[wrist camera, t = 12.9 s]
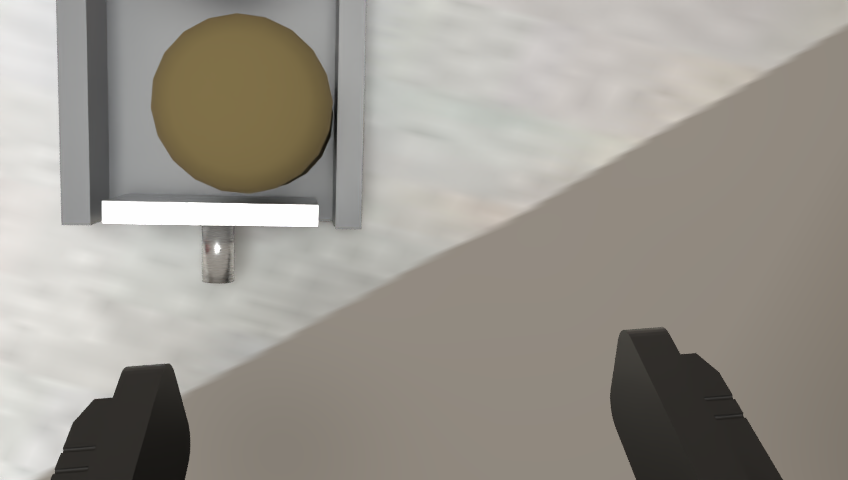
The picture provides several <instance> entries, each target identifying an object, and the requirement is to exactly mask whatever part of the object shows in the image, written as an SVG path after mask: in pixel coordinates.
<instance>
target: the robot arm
mask: <svg viewBox="0 0 848 480" xmlns="http://www.w3.org/2000/svg"><path fill="white" fill-rule="evenodd" d="M610 401H611V411H612V416H613V420H614V424H615V427H616V429H617V432H618V434H619V437H620V440H621V442H622V444H623V447H624V450H625V452H626V455H627V457H628V460H629V462H630V465H631V467H632V470H633V473H634V475H635V478H636V480H783V479H782V478H781V476H780V474H779V473H778V471H777V469H776V468H775V466H774V464H773V463H772V461H771V459H770V457H769V456H768V454H767V452H766V451H765V449H764V447H763V446H762V444H761V442H760V441H759V439H758V437H757V436H756V434H755V432H754V431H753V429H752V427H751V425H750V424H749V422H748V420H747V419H746V418H744V417H743V412H742V411H741V409H740V407H739V405H738V403H737V402H736V400H735V399H733V398H732V393H731V392H730V390H729V389H728V387H727V385H726V383H725V382H724V380H723V378H722V377H721V375H720V373H719V372H718V371H717V370H716V369H714V368H713V367H712V366H711V365H709V364H708V363H707V362H706V361H705V360H703V359H702V358H701V357H700V356H699V355H697V354H696V353H693V354H680V353H679V351H678V349H677V347H676V345H675V344H674V342H673V340H672V338H671V336H670V335H669V333H668V331H667V330H666V329H665V328H663V327H658V328H645V329H632V330H623V331H621V333H620V335H619V339H618V345H617V352H616V358H615V365H614V372H613V378H612V385H611V393H610ZM189 455H190V431H189V425H188V421H187V418H186V413H185V410H184V406H183V402H182V399H181V395H180V391H179V388H178V384H177V380H176V376H175V373H174V370H173V368H172V366H171V365H170V364H156V365H143V366H130V367H125V368H124V369H123V371H122V373H121V376H120V379H119V381H118V384H117V387H116V390H115V393H114V396H113V398H103V399H94V400H93V401H92V402H91V403H90V405H89V406H88V407H87V408H86V409H85V410H84V411H83V412H82V413H81V415H80V416H79V417H78V418H77V419H76V420H75V421H74V422H73V424H72V427H71V429H70V432H69V434H68V437H67V440H66V442H65V445H64V447H63V453H61V455H60V457H59V460H58V462H57V465H56V467H55V474H53V475H52V477H51V480H185V476H186V471H187V467H188V462H189Z"/></svg>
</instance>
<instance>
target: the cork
mask: <svg viewBox="0 0 848 480" xmlns="http://www.w3.org/2000/svg"><path fill="white" fill-rule="evenodd" d="M332 105H333V100H332V96H331V91H330V86H329V81H328V77H327V74H326V72H325V70H324V68H323V67H322V65H321V63H320V61H319V59H318V58H317V56H316V54H315V52H314V51H313V49H312V48H311V47H310V46H309V45H307V44H306V43H305V42H304V41H303V40H302V39H301V38H300V37H299V36H298V35H297V34H296V33H295V32H294V31H293V30H291V29H289V28H287V27H285V26H283V25H281V24H279V23H277V22H275V21H272V20H270V19H268V18H266V17H260V16H253V15H247V14H240V13H235V14H229V15H224V16H218V17H212V18H208V19H206V20H204V21H202V22H201V23H199V24H197V25H195V26H193V27H191V28H190V29H188V30H186V31H184V32H183V33H182V34H181V35H180V36H179V37H178V38H177V39H176V40H175V42H174V43H173V44H172V45H171V46H170V47H169V48H168V49H167V50H166V51H165V53H164V54H163V57H162V59H161V61H160V64H159V66H158V68H157V71H156V73H155V75H154V78H153V84H152V97H151V111H152V115H153V119H154V123H155V127H156V131H157V135H158V137H159V139H160V140H161V142H162V144H163V145H164V147H165V148H166V150H167V152H168V153H169V155H170V157H171V158H172V160H173V161H174V162H175V163H176V164H178V165H179V166H180V167H181V168H182V169H183V170H185V171H186V172H187V173H188V174H189V175H190V176H192V177H193V178H194V179H195V180H197V181H200V182H202V183H204V184H207V185H209V186H211V187H214V188H216V189H218V190H221V191H228V192H238V193H247V194H251V193H256V192H260V191H265V190H270V189H275V188H278V187H280V186H283V185H287V184H289V183H291V182H293V181H294V180H296V179H298V178H300V177H301V176H303V175H305V174H307V173H308V171H309V170H310V169H311V168H312V167H313V166H314V165H315V164H316V163H317V161H318V160H319V159H320V158H321V157H322V155H323V153H324V151H325V148H326V146H327V144H328V142H329V139H330V137H331V130H332V120H333V111H332Z"/></svg>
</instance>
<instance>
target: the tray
mask: <svg viewBox="0 0 848 480" xmlns="http://www.w3.org/2000/svg"><path fill="white" fill-rule="evenodd" d="M235 13H240V14H247V15H253V16H260V17H266V18H268V19H270V20H272V21H275V22H277V23H279V24H281V25H283V26H285V27H287V28H289V29H291V30H293V31H294V32H295V33H296V34H297V35H298V36H299V37H300V38H301V39H302V40H303V41H304V42H305V43H306V44H307V45H309V46H310V47H311V48H312V49H313V51H314V52H315V54H316V56H317V58H318V59H319V61H320V63H321V65H322V67H323V68H324V70H325V72H326V74H327V77H328V81H329V86H330V91H331V96H332V100H333V105H332V111H333V120H332V130H331V137H330V139H329V142H328V144H327V146H326V148H325V151H324V153H323V155H322V157H321V158H320V159H319V160H318V161H317V163H316V164H315V165H314V166H313V167H312V168H311V169H310V170H309V171H308V173H307V174H305V175H303V176H301V177H300V178H298V179H296V180H294V181H293V182H291V183H289V184H287V185H283V186H280V187H278V188H275V189H270V190H265V191H260V192H256V193H251V194H247V193H238V192H228V191H221V190H218V189H216V188H214V187H211V186H209V185H207V184H204V183H202V182H200V181H197V180H195V179H194V178H193V177H192V176H190V175H189V174H188V173H187V172H186V171H185V170H183V169H182V168H181V167H180V166H179V165H178V164H176V163H175V162H174V161H173V160H172V158H171V157H170V155H169V153H168V152H167V150H166V148H165V147H164V145H163V144H162V142H161V140H160V139H159V137H158V135H157V131H156V127H155V123H154V119H153V115H152V111H151V97H152V84H153V78H154V75H155V73H156V71H157V68H158V66H159V64H160V61H161V59H162V57H163V54H164V53H165V51H166V50H167V49H168V48H169V47H170V46H171V45H172V44H173V43H174V42H175V40H176V39H177V38H178V37H179V36H180V35H181V34H182V33H183V32H184V31H186V30H188V29H190V28H191V27H193V26H195V25H197V24H199V23H201V22H202V21H204V20H206V19H208V18H212V17H218V16H224V15H229V14H235ZM56 14H57V55H58V96H59V137H60V178H61V219H62V225H92V224H95V223H98V222H100V221H102V201H104V200H107V199H110V198H114V197H117V196H121V195H124V194H160V195H208V196H256V197H304V198H316V199H317V202H318V221H332V222H333V224H334V227H335V229H361V216H362V171H363V126H364V81H365V36H366V0H56Z"/></svg>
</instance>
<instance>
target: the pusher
mask: <svg viewBox="0 0 848 480" xmlns="http://www.w3.org/2000/svg"><path fill="white" fill-rule="evenodd" d="M102 223H103V224H170V225H202V281H203V282H205V283H229V282H233V281H234V225H237V226H304V227H318V202H317V199H316V198H304V197H256V196H208V195H160V194H124V195H121V196H117V197H114V198H110V199H107V200H104V201H102Z"/></svg>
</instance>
